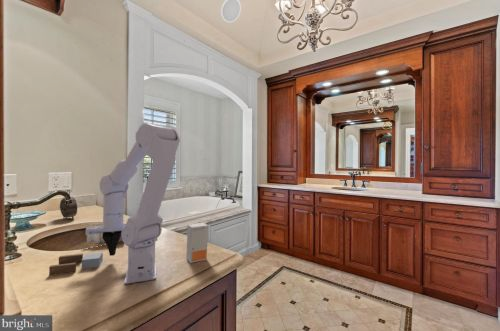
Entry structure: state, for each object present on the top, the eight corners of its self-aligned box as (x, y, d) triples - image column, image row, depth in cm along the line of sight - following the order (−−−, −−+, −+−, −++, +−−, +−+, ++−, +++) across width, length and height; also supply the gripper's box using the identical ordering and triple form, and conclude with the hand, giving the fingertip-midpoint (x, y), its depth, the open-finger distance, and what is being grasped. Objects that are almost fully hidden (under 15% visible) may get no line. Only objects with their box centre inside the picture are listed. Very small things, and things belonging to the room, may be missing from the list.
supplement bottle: (126, 231, 98) (90, 235, 92) (126, 221, 94) (89, 223, 89) (125, 244, 93) (87, 248, 87) (125, 233, 89) (85, 237, 84)
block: (98, 267, 70) (99, 258, 70) (81, 269, 69) (81, 259, 69) (102, 261, 75) (102, 252, 75) (86, 263, 73) (86, 254, 73)
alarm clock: (77, 219, 124) (78, 189, 123) (65, 221, 119) (66, 190, 119) (69, 216, 129) (69, 188, 129) (57, 218, 125) (58, 189, 125)
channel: (75, 272, 67) (75, 263, 67) (49, 275, 64) (49, 267, 64) (82, 261, 74) (82, 253, 74) (59, 263, 72) (60, 256, 72)
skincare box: (190, 263, 74) (191, 227, 74) (186, 259, 78) (187, 224, 78) (207, 260, 78) (208, 225, 77) (202, 255, 81) (203, 222, 81)
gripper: (139, 209, 80) (138, 247, 80) (90, 211, 75) (89, 252, 75) (137, 213, 74) (136, 255, 74) (84, 216, 68) (83, 261, 68)
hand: (112, 254), depth 74 cm, fingers closed
